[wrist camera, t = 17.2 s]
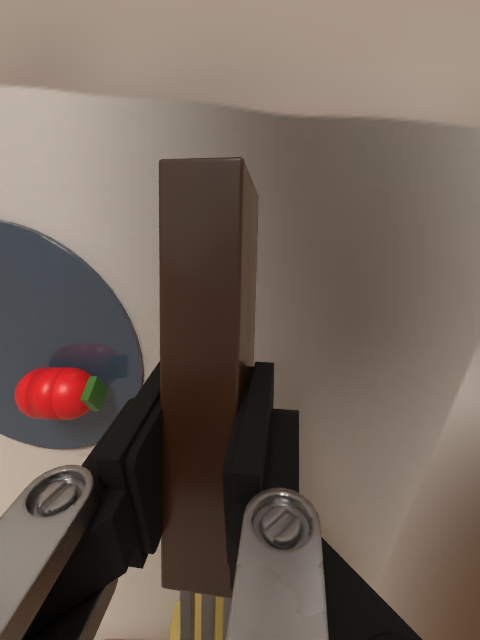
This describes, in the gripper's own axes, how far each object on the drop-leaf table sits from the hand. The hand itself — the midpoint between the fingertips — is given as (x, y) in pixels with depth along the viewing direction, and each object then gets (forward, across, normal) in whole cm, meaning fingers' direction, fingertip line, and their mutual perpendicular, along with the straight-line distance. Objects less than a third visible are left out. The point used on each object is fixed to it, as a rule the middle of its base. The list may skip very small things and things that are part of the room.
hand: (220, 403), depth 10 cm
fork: (0, 0, +2) cm, 2 cm away
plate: (+12, +18, +6) cm, 22 cm away
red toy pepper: (+12, +14, +7) cm, 20 cm away
